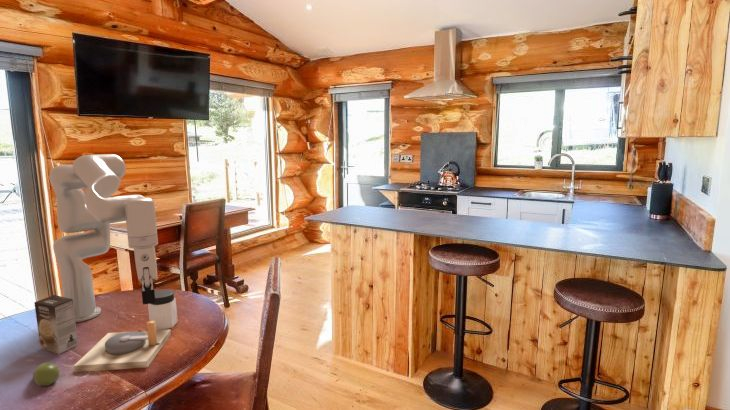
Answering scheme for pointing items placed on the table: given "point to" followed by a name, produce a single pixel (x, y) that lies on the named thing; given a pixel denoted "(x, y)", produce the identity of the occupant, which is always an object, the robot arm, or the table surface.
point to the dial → (131, 340)
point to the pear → (46, 374)
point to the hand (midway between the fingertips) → (148, 298)
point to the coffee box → (56, 324)
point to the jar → (163, 310)
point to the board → (121, 355)
